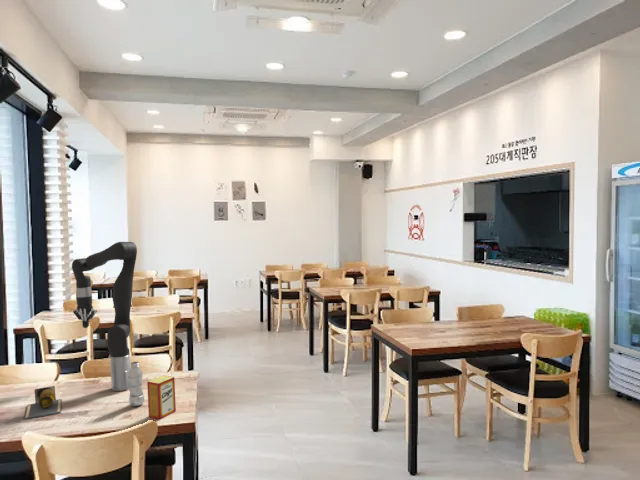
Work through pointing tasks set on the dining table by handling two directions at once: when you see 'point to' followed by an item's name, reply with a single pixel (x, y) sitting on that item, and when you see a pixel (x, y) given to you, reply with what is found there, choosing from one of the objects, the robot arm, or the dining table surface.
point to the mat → (42, 410)
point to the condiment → (45, 396)
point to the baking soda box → (161, 397)
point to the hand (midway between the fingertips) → (85, 327)
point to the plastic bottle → (135, 385)
